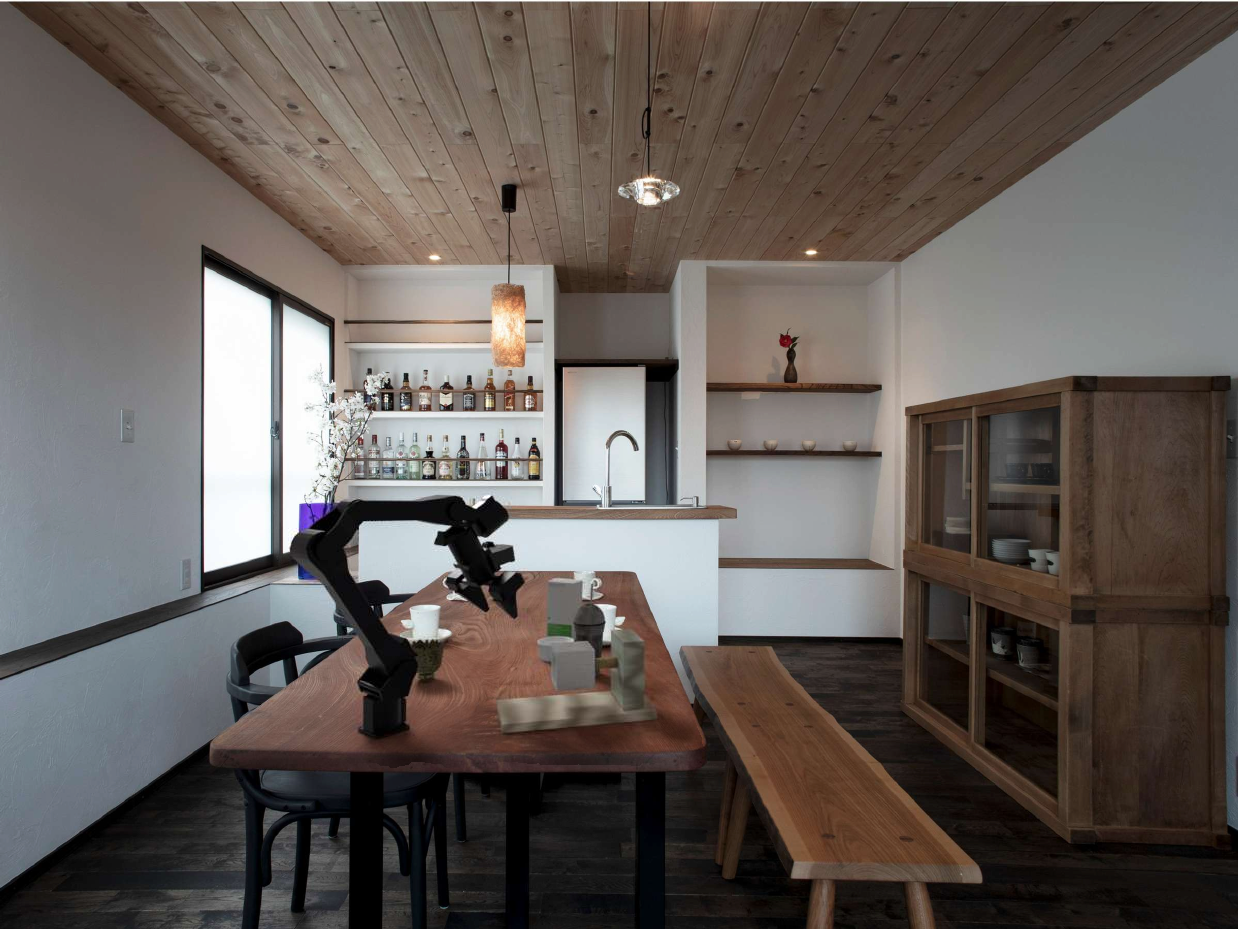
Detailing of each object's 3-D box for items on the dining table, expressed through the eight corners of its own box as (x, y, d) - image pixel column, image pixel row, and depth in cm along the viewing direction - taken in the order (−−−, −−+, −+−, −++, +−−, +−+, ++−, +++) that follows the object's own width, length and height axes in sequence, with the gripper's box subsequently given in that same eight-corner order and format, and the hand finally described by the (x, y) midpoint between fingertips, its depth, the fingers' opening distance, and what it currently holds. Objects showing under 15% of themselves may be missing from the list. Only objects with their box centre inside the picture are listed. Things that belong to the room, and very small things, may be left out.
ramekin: (540, 664, 161) (540, 646, 161) (534, 655, 170) (534, 637, 170) (577, 662, 164) (577, 643, 164) (570, 652, 172) (570, 635, 172)
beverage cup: (566, 676, 152) (566, 585, 152) (583, 667, 158) (583, 580, 159) (595, 681, 149) (595, 588, 149) (611, 672, 155) (611, 583, 155)
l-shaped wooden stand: (502, 733, 119) (502, 652, 120) (497, 707, 132) (497, 634, 132) (657, 719, 126) (657, 642, 126) (638, 696, 139) (638, 626, 139)
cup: (434, 686, 145) (434, 648, 145) (401, 684, 147) (402, 646, 147) (449, 675, 152) (449, 639, 152) (419, 673, 154) (419, 637, 154)
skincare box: (545, 639, 185) (545, 581, 185) (554, 633, 191) (554, 577, 191) (574, 641, 182) (574, 582, 182) (583, 635, 189) (583, 578, 189)
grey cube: (556, 691, 125) (556, 652, 125) (551, 679, 132) (551, 643, 132) (594, 688, 126) (594, 650, 126) (587, 677, 133) (587, 641, 133)
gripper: (526, 531, 133) (557, 595, 139) (469, 525, 146) (500, 584, 151) (486, 566, 126) (520, 631, 132) (429, 557, 139) (463, 617, 144)
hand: (501, 614), depth 140 cm, fingers open, 9 cm apart
